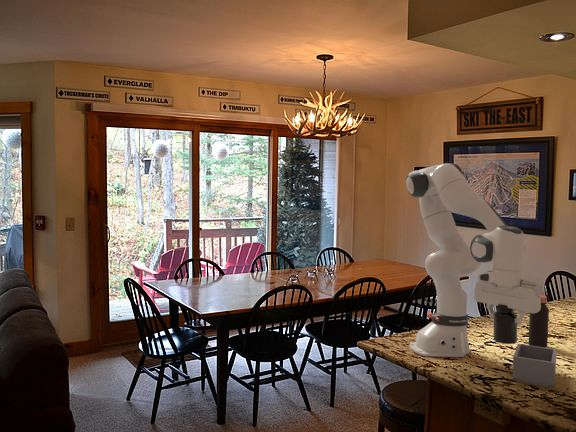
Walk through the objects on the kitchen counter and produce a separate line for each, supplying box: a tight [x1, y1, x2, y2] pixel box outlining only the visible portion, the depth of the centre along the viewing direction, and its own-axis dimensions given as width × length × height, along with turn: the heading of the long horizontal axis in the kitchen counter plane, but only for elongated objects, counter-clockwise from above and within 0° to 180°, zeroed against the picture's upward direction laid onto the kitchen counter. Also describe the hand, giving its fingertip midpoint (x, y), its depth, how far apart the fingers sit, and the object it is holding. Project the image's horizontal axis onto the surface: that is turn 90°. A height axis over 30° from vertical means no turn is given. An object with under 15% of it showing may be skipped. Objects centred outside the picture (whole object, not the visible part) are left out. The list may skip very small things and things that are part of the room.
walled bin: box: [512, 343, 557, 389], centre depth 171 cm, size 16×12×8 cm
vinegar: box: [528, 294, 550, 348], centre depth 204 cm, size 7×7×20 cm
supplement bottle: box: [493, 304, 518, 345], centre depth 162 cm, size 7×7×12 cm
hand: (505, 321), depth 162 cm, fingers closed on supplement bottle, 7 cm apart
